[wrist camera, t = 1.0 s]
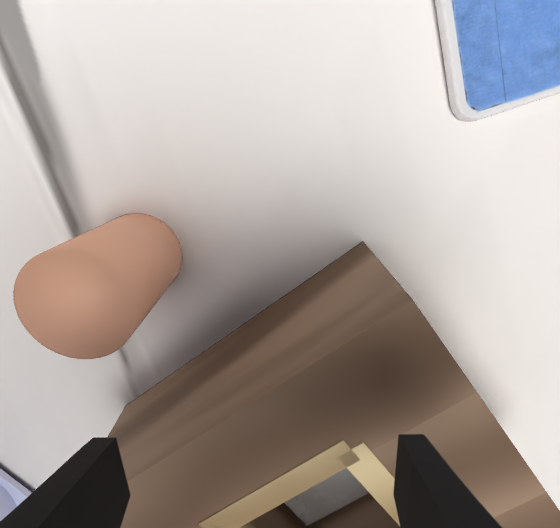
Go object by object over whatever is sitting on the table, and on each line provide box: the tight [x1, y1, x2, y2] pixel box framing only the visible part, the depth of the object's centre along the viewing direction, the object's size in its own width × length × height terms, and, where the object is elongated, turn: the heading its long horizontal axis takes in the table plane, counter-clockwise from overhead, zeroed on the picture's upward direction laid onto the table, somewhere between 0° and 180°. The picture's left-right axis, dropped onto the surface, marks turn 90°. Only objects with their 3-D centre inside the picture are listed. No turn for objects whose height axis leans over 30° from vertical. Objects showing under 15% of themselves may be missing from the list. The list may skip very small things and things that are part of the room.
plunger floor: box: [284, 468, 369, 526], centre depth 17 cm, size 5×5×1 cm
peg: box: [13, 213, 182, 359], centre depth 15 cm, size 4×4×6 cm
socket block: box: [107, 242, 560, 528], centre depth 17 cm, size 14×16×7 cm
